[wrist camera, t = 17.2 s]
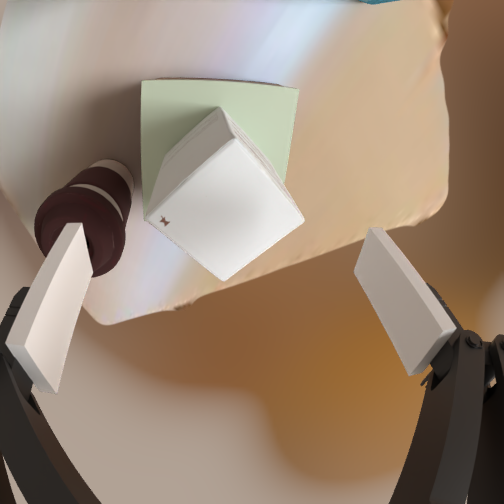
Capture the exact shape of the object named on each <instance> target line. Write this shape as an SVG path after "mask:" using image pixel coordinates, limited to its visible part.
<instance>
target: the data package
mask: <svg viewBox="0 0 504 504" xmlns="http://www.w3.org/2000/svg"><path fill="white" fill-rule="evenodd" d="M360 1H362V2H364V3H367V4H380V3H386V2H392V1H399V0H360Z"/></svg>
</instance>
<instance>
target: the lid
mask: <svg viewBox="0 0 504 504" xmlns="http://www.w3.org/2000/svg"><path fill="white" fill-rule="evenodd" d="M298 95H299V89H297V88H290V87H283V86H275V85H266V84H257V83H246V82H233V81H217V80H181V79H172V80H142V85H141V175H142V196H143V212H144V221H146V220H145V215H146V211H147V208H148V205H149V202H150V199H151V195H152V192H153V189H154V186H155V183H156V180H157V177H158V174H159V171H160V168H161V165H162V162H163V159H164V157H165V154H166V153H168V152H169V151H170V150H171V149H172V148H173V147H174V146H175V145H176V144H177V143H178V142H179V141H180V140H181V139H182V138H183V137H184V136H185V135H187V134H188V133H189V132H190V131H191V130H192V129H193V128H194V127H195V126H196V125H198V124H199V123H200V122H201V121H202V120H203V119H204V118H206V117H207V116H208V115H209V114H210V113H212V112H213V111H214V110H215V109H217V108H218V107H219V106H220V107H222V108H223V109H224V110H225V111H226V112H227V113H228V114H229V115H230V117H231V118H232V119H233V120H234V121H235V122H236V123H237V124H238V125H239V126H240V127H241V128H242V129H243V131H244V132H245V133H246V134H247V135H248V136H249V137H250V138H251V139H252V141H253V142H254V143H255V144H256V145H257V146H258V147H259V149H260V150H261V151H262V152H263V153H264V154H265V155H266V157H267V158H268V159H269V160H270V162H271V163H272V165H273V167H274V169H275V170H276V172H277V174H278V175H279V177H280V179H281V181H282V182H283V184H284V182H285V176H286V170H287V164H288V158H289V152H290V145H291V139H292V133H293V127H294V120H295V114H296V108H297V101H298Z"/></svg>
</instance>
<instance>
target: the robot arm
mask: <svg viewBox="0 0 504 504" xmlns="http://www.w3.org/2000/svg"><path fill="white" fill-rule="evenodd" d="M92 274H93V270H92V266H91V262H90V258H89V253H88V249H87V244H86V240H85V235H84V230H83V225H82V223H67V224H66V226H65V227H64V229H63V230H62V232H61V234H60V235H59V237H58V239H57V240H56V242H55V244H54V245H53V247H52V249H51V250H50V252H49V254H48V256H47V257H46V259H45V261H44V263H43V265H42V267H41V268H40V270H39V272H38V274H37V276H36V278H35V280H34V281H33V284H32V286H31V287H23V288H22V289H21V290H20V291H19V292H18V293H17V294H16V295H15V296H14V298H13V300H12V302H11V304H10V306H9V308H8V310H7V312H6V314H5V315H6V316H4V318H3V320H2V322H1V325H0V504H16V501H15V499H14V495H13V493H12V489H11V486H10V483H9V479H8V475H7V472H6V468H5V464H4V460H3V457H4V459H5V461H6V463H7V465H8V467H9V469H10V471H11V473H12V475H13V477H14V479H15V481H16V483H17V485H18V487H19V489H20V491H21V492H22V494H23V496H24V497H25V499H26V501H27V503H28V504H101V502H100V501H99V500H98V499H97V497H96V496H95V495H94V494H93V492H92V491H91V489H90V488H89V487H88V485H87V484H86V483H85V481H84V480H83V478H82V477H81V476H80V474H79V473H78V471H77V470H76V469H75V467H74V465H73V464H72V463H71V461H70V459H69V458H68V456H67V455H66V453H65V451H64V450H63V448H62V447H61V445H60V443H59V442H58V440H57V438H56V436H55V435H54V433H53V431H52V429H51V428H50V426H49V424H48V422H47V420H46V419H45V417H44V415H43V413H42V411H41V409H40V407H39V405H38V403H37V401H36V399H35V397H34V395H33V394H32V392H31V388H32V384H33V383H34V385H35V386H36V387H37V389H38V390H39V391H41V392H47V393H54V394H57V393H58V388H59V384H60V379H61V375H62V370H63V367H64V363H65V359H66V355H67V352H68V348H69V344H70V341H71V338H72V334H73V331H74V327H75V324H76V321H77V318H78V315H79V312H80V308H81V305H82V302H83V299H84V297H85V294H86V291H87V288H88V285H89V282H90V280H91V277H92ZM354 274H355V275H356V277H357V279H358V281H359V282H360V284H361V286H362V288H363V289H364V291H365V293H366V295H367V297H368V298H369V300H370V302H371V304H372V306H373V307H374V309H375V311H376V313H377V315H378V317H379V318H380V320H381V322H382V324H383V326H384V328H385V330H386V332H387V334H388V335H389V337H390V339H391V341H392V343H393V345H394V347H395V349H396V351H397V353H398V355H399V357H400V359H401V361H402V363H403V365H404V367H405V369H406V371H407V373H408V375H409V376H411V375H415V374H419V373H422V372H423V371H424V370H425V369H426V368H427V366H428V365H429V364H431V366H432V368H433V369H432V371H431V372H430V373H429V374H428V375H427V376H426V378H425V379H424V380H423V381H422V383H421V386H423V385H424V384H425V382H426V381H428V382H427V386H426V391H425V396H424V400H423V404H422V408H421V412H420V416H419V419H418V423H417V427H416V430H415V433H414V436H413V440H412V443H411V446H410V449H409V452H408V455H407V458H406V461H405V464H404V467H403V470H402V472H401V475H400V477H399V480H398V483H397V485H396V488H395V490H394V493H393V495H392V497H391V500H390V502H389V504H465V501H466V498H467V504H504V335H500V334H499V335H497V336H496V337H495V339H494V340H493V341H492V342H484V341H482V339H481V338H480V337H479V335H478V334H476V333H475V332H473V331H470V330H463V328H462V327H461V325H460V324H459V322H458V321H457V319H456V318H455V316H454V315H453V313H452V312H451V311H450V309H449V308H448V307H447V305H446V304H445V302H444V301H443V300H442V298H441V297H440V295H439V294H438V292H437V291H436V290H435V289H434V288H433V287H432V286H430V285H429V284H428V283H425V282H424V281H423V279H422V278H421V277H420V275H419V274H418V272H417V271H416V270H415V269H414V267H413V266H412V265H411V263H410V262H409V261H408V260H407V258H406V257H405V256H404V254H403V253H402V252H401V251H400V249H399V248H398V247H397V246H396V244H395V243H394V242H393V241H392V239H391V238H390V237H389V236H388V234H387V233H386V232H385V231H384V230H383V228H375V227H369V229H368V232H367V235H366V238H365V241H364V244H363V247H362V250H361V253H360V255H359V258H358V261H357V264H356V267H355V269H354ZM494 378H496V384H495V385H494V386H493V387H491V386H490V382H491V381H492V380H493V379H494ZM2 454H3V455H2ZM467 494H468V497H467Z"/></svg>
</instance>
